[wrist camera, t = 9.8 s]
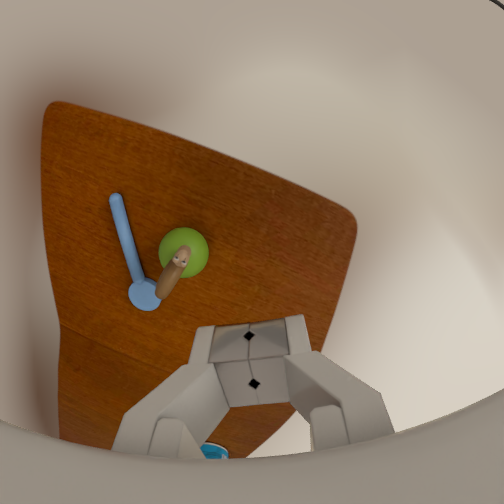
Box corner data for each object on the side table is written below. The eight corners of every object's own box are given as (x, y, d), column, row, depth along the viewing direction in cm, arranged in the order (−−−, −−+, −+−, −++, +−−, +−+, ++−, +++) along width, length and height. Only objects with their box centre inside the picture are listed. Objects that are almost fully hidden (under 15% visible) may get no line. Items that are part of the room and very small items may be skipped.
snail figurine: (224, 229, 34) (211, 277, 23) (197, 273, 36) (176, 333, 25) (182, 205, 33) (149, 242, 22) (158, 250, 35) (121, 303, 24)
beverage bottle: (236, 454, 52) (234, 537, 33) (204, 461, 53) (196, 538, 35) (213, 437, 49) (205, 527, 31) (180, 444, 51) (166, 527, 32)
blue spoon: (101, 195, 32) (95, 199, 31) (133, 187, 32) (127, 190, 30) (137, 308, 38) (133, 314, 36) (166, 305, 38) (163, 311, 36)
